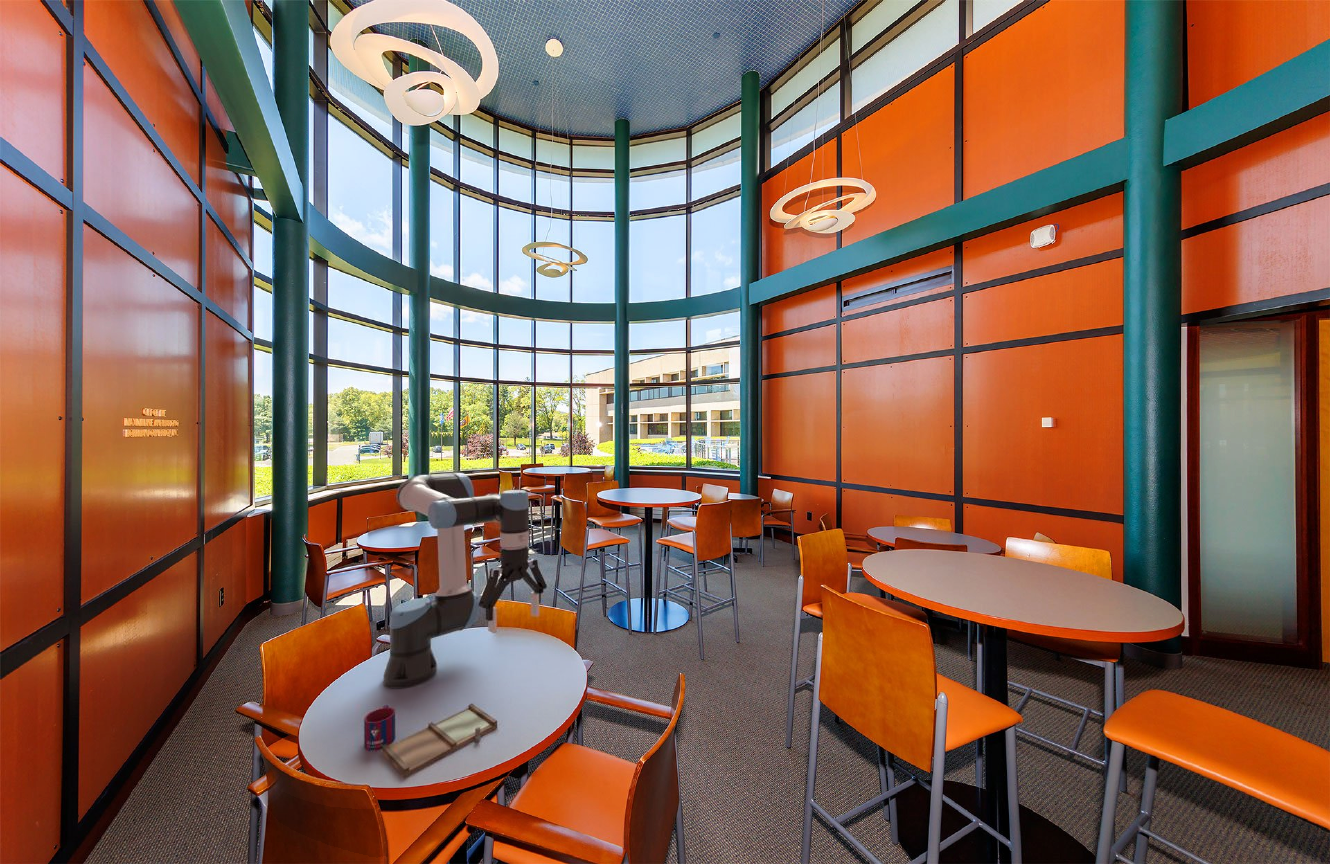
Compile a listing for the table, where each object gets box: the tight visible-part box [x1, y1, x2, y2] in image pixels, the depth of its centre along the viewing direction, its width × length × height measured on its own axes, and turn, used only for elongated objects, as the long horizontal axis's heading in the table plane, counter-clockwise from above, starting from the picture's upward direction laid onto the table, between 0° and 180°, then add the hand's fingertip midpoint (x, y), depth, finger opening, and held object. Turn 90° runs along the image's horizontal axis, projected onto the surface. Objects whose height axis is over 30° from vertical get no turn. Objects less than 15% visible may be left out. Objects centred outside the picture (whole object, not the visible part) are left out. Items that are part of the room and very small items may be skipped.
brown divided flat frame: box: [381, 703, 498, 778], centre depth 117 cm, size 15×23×3 cm, turn 141°
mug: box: [363, 704, 396, 752], centre depth 119 cm, size 7×10×7 cm
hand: (514, 623), depth 128 cm, fingers open, 13 cm apart
